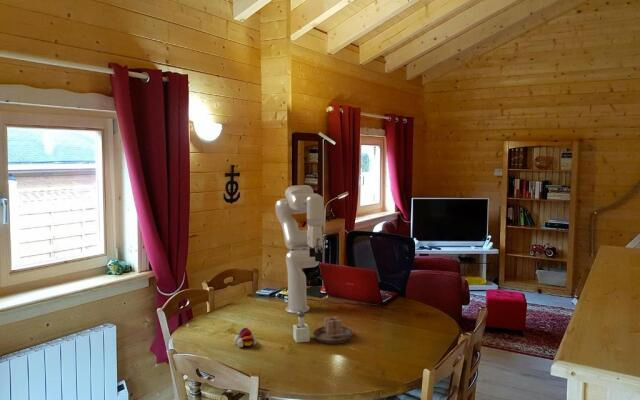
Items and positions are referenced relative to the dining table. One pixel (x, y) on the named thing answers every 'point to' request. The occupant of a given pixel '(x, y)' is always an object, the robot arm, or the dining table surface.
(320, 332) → the plant saucer
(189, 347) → the dining table surface
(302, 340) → the wide bore block
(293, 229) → the robot arm
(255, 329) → the dining table surface
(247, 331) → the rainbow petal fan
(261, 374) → the dining table surface
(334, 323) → the narrow block
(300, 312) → the cylinder
